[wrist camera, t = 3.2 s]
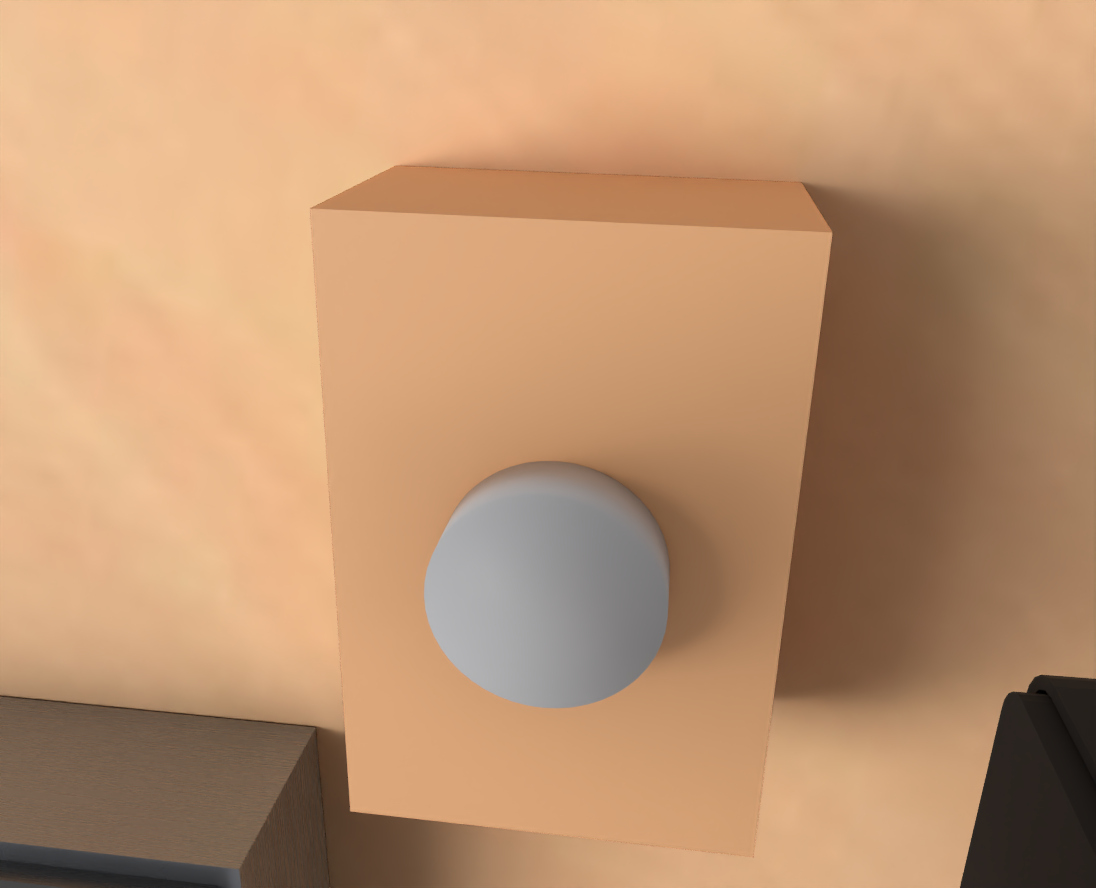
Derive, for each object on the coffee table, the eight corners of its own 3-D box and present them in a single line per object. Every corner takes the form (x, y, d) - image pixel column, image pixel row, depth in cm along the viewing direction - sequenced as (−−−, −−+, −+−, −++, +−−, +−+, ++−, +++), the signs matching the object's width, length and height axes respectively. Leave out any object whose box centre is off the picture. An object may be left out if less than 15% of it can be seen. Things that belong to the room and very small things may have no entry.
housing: (799, 179, 15) (844, 251, 11) (742, 691, 19) (756, 912, 14) (399, 163, 16) (278, 224, 11) (415, 659, 19) (328, 860, 15)
